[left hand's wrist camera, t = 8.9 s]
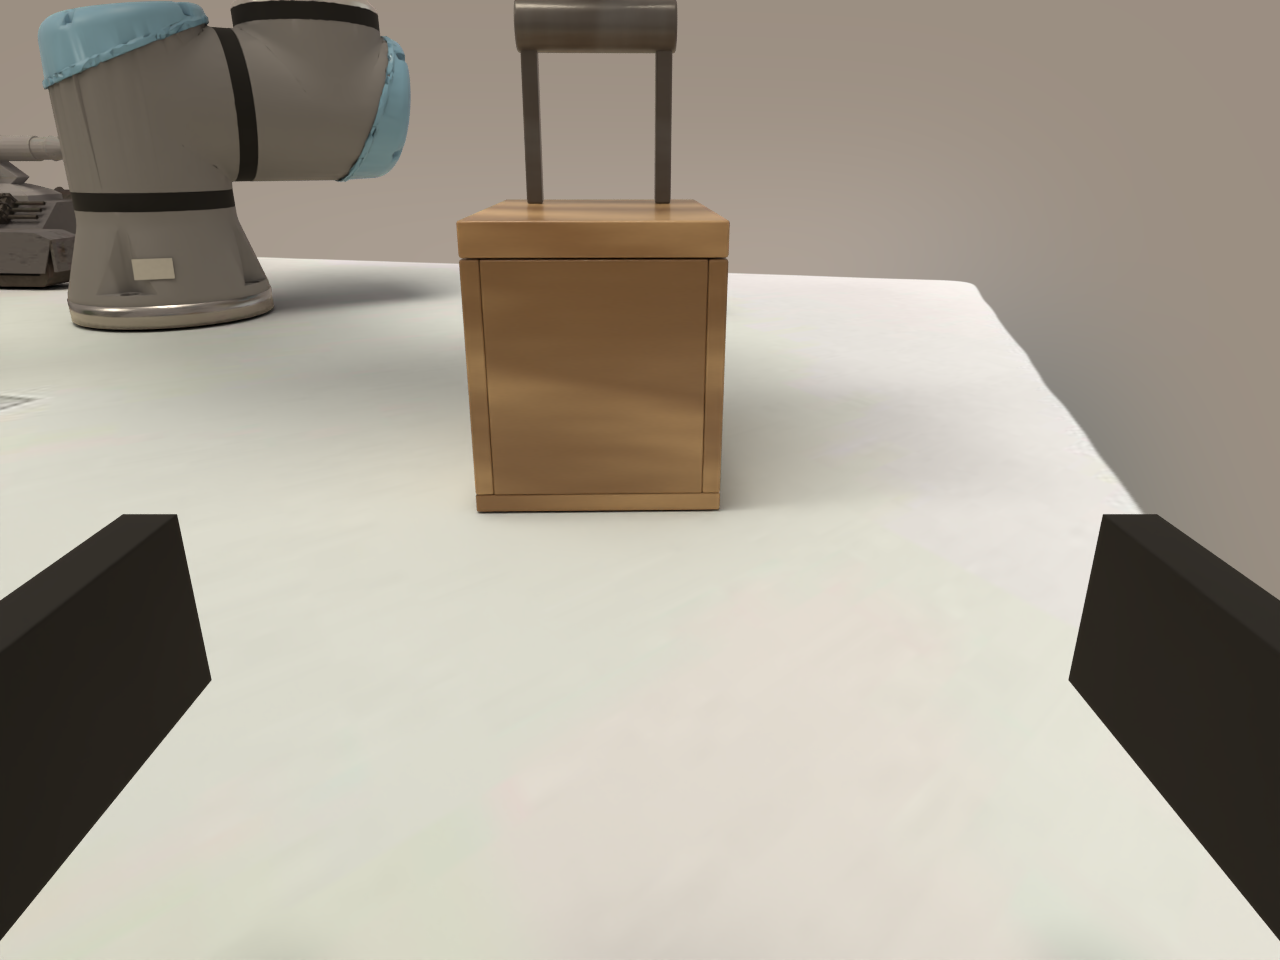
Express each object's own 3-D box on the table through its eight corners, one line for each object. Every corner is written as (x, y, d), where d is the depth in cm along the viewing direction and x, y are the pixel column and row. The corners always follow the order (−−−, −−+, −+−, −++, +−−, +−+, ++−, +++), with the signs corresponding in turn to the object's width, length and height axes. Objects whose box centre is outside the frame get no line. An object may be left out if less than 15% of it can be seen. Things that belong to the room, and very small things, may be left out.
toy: (-172, 285, 88) (-225, 125, 82) (-15, 261, 106) (-49, 130, 101) (61, 288, 86) (22, 125, 80) (180, 264, 104) (155, 130, 99)
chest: (514, 413, 46) (504, 228, 42) (691, 412, 46) (695, 227, 43) (476, 512, 33) (458, 260, 30) (719, 510, 33) (728, 259, 30)
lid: (506, 226, 43) (494, 10, 40) (694, 226, 43) (699, 11, 40) (458, 258, 30) (435, -60, 26) (728, 257, 30) (740, -58, 27)
